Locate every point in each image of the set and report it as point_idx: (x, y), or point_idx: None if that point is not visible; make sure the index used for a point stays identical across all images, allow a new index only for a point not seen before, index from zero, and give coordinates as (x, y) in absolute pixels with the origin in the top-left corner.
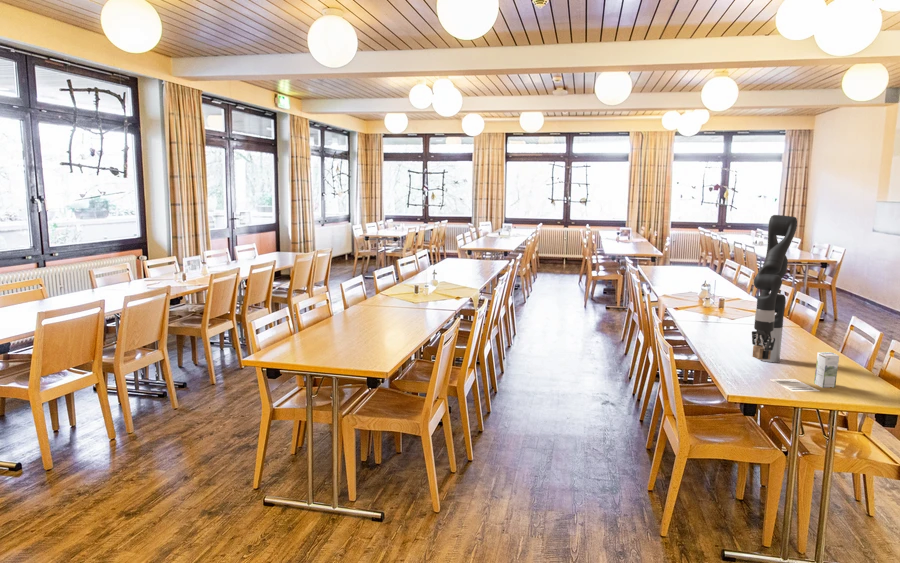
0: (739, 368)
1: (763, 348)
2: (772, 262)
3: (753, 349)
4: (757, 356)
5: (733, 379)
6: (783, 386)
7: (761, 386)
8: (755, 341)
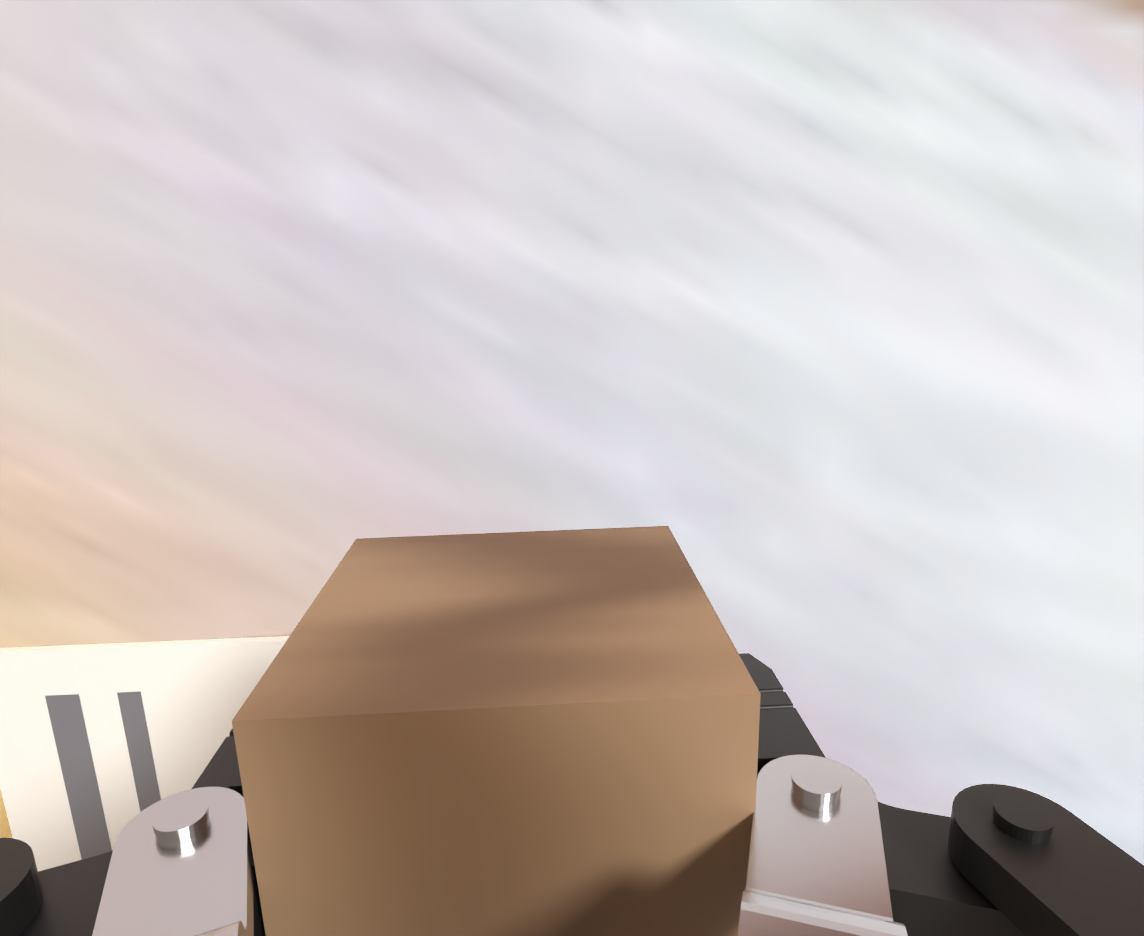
0: (1067, 496)
1: (208, 849)
2: None
3: (685, 615)
4: (426, 558)
5: (531, 82)
6: (183, 652)
7: (189, 357)
8: (837, 927)
